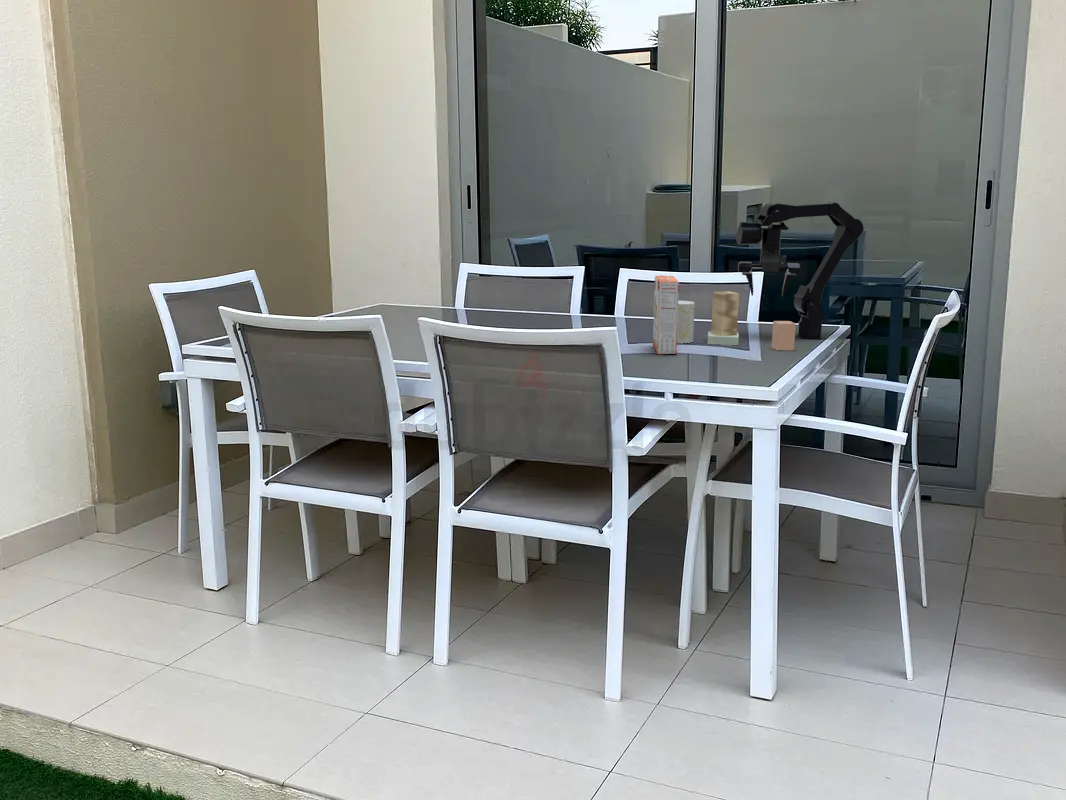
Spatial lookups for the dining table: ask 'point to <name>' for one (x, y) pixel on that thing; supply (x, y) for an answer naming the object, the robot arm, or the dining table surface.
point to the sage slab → (723, 339)
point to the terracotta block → (783, 335)
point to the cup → (685, 321)
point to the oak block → (724, 313)
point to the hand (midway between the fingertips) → (767, 295)
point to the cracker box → (665, 314)
